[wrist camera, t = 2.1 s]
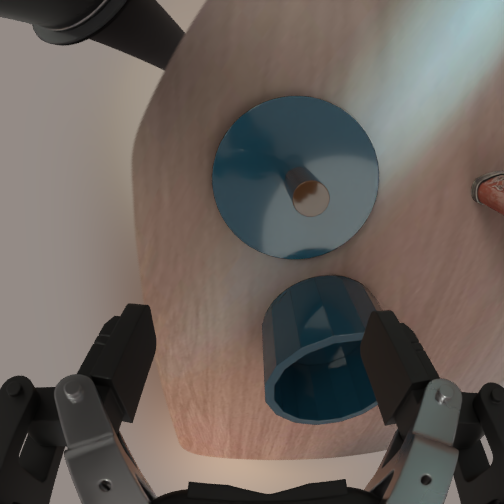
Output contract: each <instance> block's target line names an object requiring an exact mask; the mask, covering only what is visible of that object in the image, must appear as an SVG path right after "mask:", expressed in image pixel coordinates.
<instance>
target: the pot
mask: <svg viewBox="0 0 504 504" xmlns="http://www.w3.org/2000/svg"><path fill="white" fill-rule="evenodd" d="M372 311H382V309H381V307H380V305H379V304H378V302H377V300H376V298H375V297H374V296H373V295H372V294H371V293H370V291H369V290H368V289H367V288H366V287H365V286H364V285H362V284H361V283H359V282H357V281H355V280H353V279H350V278H347V277H343V276H335V275H326V276H318V277H314V278H309V279H307V280H304V281H301V282H299V283H297V284H295V285H293V286H291V287H290V288H288V289H286V290H285V291H284V292H283V293H281V294H280V295H279V296H278V297H277V298H276V299H275V300H274V301H273V303H272V304H271V305H270V307H269V308H268V310H267V312H266V314H265V317H264V320H263V323H262V336H263V360H264V384H265V402H266V403H267V404H268V405H269V407H270V408H271V409H272V410H273V411H274V413H275V414H276V415H278V416H280V417H283V418H285V419H287V420H290V421H292V422H295V423H302V424H312V425H320V424H328V423H335V422H340V421H344V420H347V419H350V418H353V417H356V416H358V415H361V414H363V413H365V412H367V411H369V410H370V409H372V408H373V407H375V406H377V405H378V403H377V400H376V397H375V394H374V392H373V389H372V386H371V383H370V380H369V378H368V375H367V372H366V369H365V367H364V364H363V361H362V358H361V354H360V345H361V341H362V338H363V335H364V332H365V329H366V326H367V322H368V319H369V316H370V314H371V312H372Z"/></svg>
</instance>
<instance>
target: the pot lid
mask: <svg viewBox="0 0 504 504" xmlns="http://www.w3.org/2000/svg"><path fill="white" fill-rule="evenodd" d="M378 185H379V169H378V162H377V157H376V154H375V150H374V148H373V146H372V143H371V141H370V139H369V137H368V136H367V134H366V132H365V131H364V130H363V128H362V127H361V126H360V125H359V123H358V122H357V121H356V120H355V119H354V118H353V117H351V116H350V115H349V114H348V113H346V112H345V111H344V110H342V109H341V108H339V107H337V106H335V105H333V104H331V103H329V102H326V101H324V100H321V99H317V98H312V97H306V96H286V97H280V98H276V99H272V100H269V101H266V102H263V103H261V104H259V105H257V106H255V107H253V108H252V109H250V110H249V111H247V112H246V113H245V114H243V115H242V116H241V117H240V118H239V119H238V120H237V121H236V122H235V123H234V124H233V125H232V126H231V127H230V129H229V130H228V131H227V132H226V134H225V136H224V137H223V139H222V141H221V143H220V145H219V147H218V150H217V152H216V156H215V160H214V164H213V172H212V187H213V193H214V198H215V201H216V204H217V207H218V210H219V212H220V214H221V216H222V218H223V219H224V221H225V223H226V224H227V226H228V227H229V228H230V229H231V230H232V232H233V233H234V234H235V235H236V236H237V237H238V238H239V239H240V240H242V241H243V242H244V243H246V244H247V245H248V246H250V247H252V248H254V249H255V250H257V251H259V252H262V253H264V254H267V255H270V256H273V257H277V258H284V259H306V258H312V257H316V256H320V255H323V254H325V253H328V252H330V251H332V250H334V249H336V248H338V247H340V246H341V245H343V244H344V243H346V242H347V241H348V240H349V239H350V238H352V237H353V236H354V235H355V234H356V233H357V232H358V231H359V229H360V228H361V227H362V226H363V224H364V223H365V221H366V220H367V218H368V216H369V215H370V213H371V211H372V208H373V206H374V203H375V200H376V196H377V192H378Z"/></svg>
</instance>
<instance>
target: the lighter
mask: <svg viewBox="0 0 504 504" xmlns="http://www.w3.org/2000/svg"><path fill="white" fill-rule="evenodd" d="M471 194H472V198H473V200H474V201H476V202H477V203H479V204H483V205H487V206H489V207H490V208H492V209H494V210H496V211H497V212H499V213H501V214H503V215H504V171H495V172H491V173H488V174H485V175H483V176H481V177H479V178H477V179H476V180H475V181H474V182H473V185H472V189H471Z"/></svg>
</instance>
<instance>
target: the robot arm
mask: <svg viewBox="0 0 504 504" xmlns="http://www.w3.org/2000/svg"><path fill="white" fill-rule="evenodd" d="M109 2H110V0H0V17H3V18H8V19H13V20H17V21H22V22H26V23H30V24H34V25H38V26H41V27H44V28H46V29H48V30H52V31H56V32H63V31H68V30H72V29H75V28H77V27H79V26H81V25H83V24H85V23H86V22H88V21H89V20H91V19H92V18H93V17H95V16H96V15H97V14H98V13H99V12H100V11H101V10H102V9H103V8H104V7H105V6H106V5H107V4H108V3H109ZM155 351H156V335H155V330H154V326H153V320H152V315H151V310H150V307H149V306H148V305H141V304H128V305H127V306H126V308H125V309H124V311H123V313H122V314H121V316H114V317H113V318H111V319H110V320H109V321H108V322H107V323H105V324H104V326H103V328H102V330H101V331H100V333H99V336H98V337H97V338H96V340H95V342H94V344H93V345H92V347H91V349H90V351H89V352H88V354H87V356H86V358H85V360H84V362H83V363H82V365H81V367H80V369H79V371H78V373H77V374H75V375H70V376H67V377H65V378H63V379H62V380H61V381H60V382H59V383H58V384H57V386H56V387H46V388H45V387H44V388H35V387H34V385H33V384H32V382H31V381H30V380H29V379H28V378H27V377H24V376H15V377H12V378H10V379H8V380H7V381H6V382H5V383H4V384H3V385H2V387H1V389H0V504H49V502H50V497H51V493H52V490H53V486H54V482H55V479H56V475H57V471H58V468H59V465H60V461H61V458H62V455H63V451H64V448H65V446H67V447H68V450H65V451H64V457H65V460H66V464H67V466H68V469H69V472H70V475H71V478H72V480H73V483H74V486H75V488H76V490H77V493H78V496H79V498H80V500H81V503H82V504H444V502H445V499H446V496H447V493H448V490H449V487H450V484H451V481H452V477H453V475H454V479H455V482H456V486H457V490H458V493H459V497H460V501H461V504H504V388H503V387H502V386H500V385H499V384H496V383H487V384H485V385H484V386H483V387H482V388H481V390H480V391H479V392H478V393H466V392H461V391H460V389H459V388H458V387H457V386H456V385H455V384H454V383H453V382H451V381H449V380H447V379H442V378H441V379H440V377H439V375H438V374H437V372H436V370H435V368H434V366H433V365H432V363H431V361H430V359H429V358H428V356H427V354H426V352H425V351H423V347H422V345H421V344H420V343H419V340H418V339H417V337H416V335H415V334H414V332H413V331H412V330H411V329H410V328H409V327H407V326H406V325H405V324H404V323H400V322H399V321H398V319H397V317H396V316H395V314H394V312H393V311H391V310H388V311H372V312H371V314H370V316H369V319H368V322H367V326H366V329H365V332H364V335H363V338H362V341H361V345H360V354H361V358H362V361H363V364H364V367H365V369H366V372H367V375H368V378H369V380H370V383H371V386H372V389H373V392H374V394H375V397H376V400H377V403H378V406H379V409H380V412H381V415H382V418H383V421H384V424H385V426H386V425H391V424H397V427H398V429H397V431H396V432H395V434H394V436H393V439H392V441H391V443H390V445H389V447H388V450H387V452H386V454H385V456H384V458H383V460H382V462H381V464H380V466H379V468H378V470H377V472H376V474H375V475H374V477H373V478H372V479H371V481H370V482H369V483H368V485H367V486H366V488H365V489H364V490H361V489H357V488H352V487H347V485H346V480H345V479H342V480H336V481H328V482H319V483H309V484H306V485H303V486H299V487H296V488H292V489H289V490H285V491H281V492H278V493H273V494H264V493H259V492H254V491H250V490H246V489H242V488H237V487H233V486H230V485H220V484H207V483H197V482H189V485H188V489H186V490H179V491H174V492H171V493H167V494H164V495H162V496H160V497H157V496H156V495H155V493H154V492H153V490H152V488H151V487H150V485H149V484H148V482H147V481H146V479H145V478H144V476H143V475H142V473H141V471H140V470H139V468H138V466H137V464H136V462H135V460H134V458H133V457H132V455H131V453H130V451H129V449H128V447H127V445H126V443H125V441H124V439H123V437H122V435H121V433H120V431H119V428H120V425H121V422H122V421H124V422H129V423H133V420H134V416H135V413H136V410H137V407H138V403H139V400H140V397H141V394H142V391H143V387H144V384H145V382H146V379H147V375H148V372H149V370H150V367H151V363H152V361H153V358H154V355H155ZM27 433H28V436H27V439H26V441H25V444H24V446H23V449H22V452H21V455H20V457H19V453H20V450H21V448H22V445H23V442H24V439H25V437H26V435H27ZM484 435H485V436H486V438H487V440H488V443H489V446H490V448H491V451H492V454H493V462H492V464H491V466H490V465H489V462H488V459H487V456H486V454H485V451H484V448H483V446H482V443H481V441H480V439H481V438H482V437H483V436H484Z"/></svg>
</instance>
